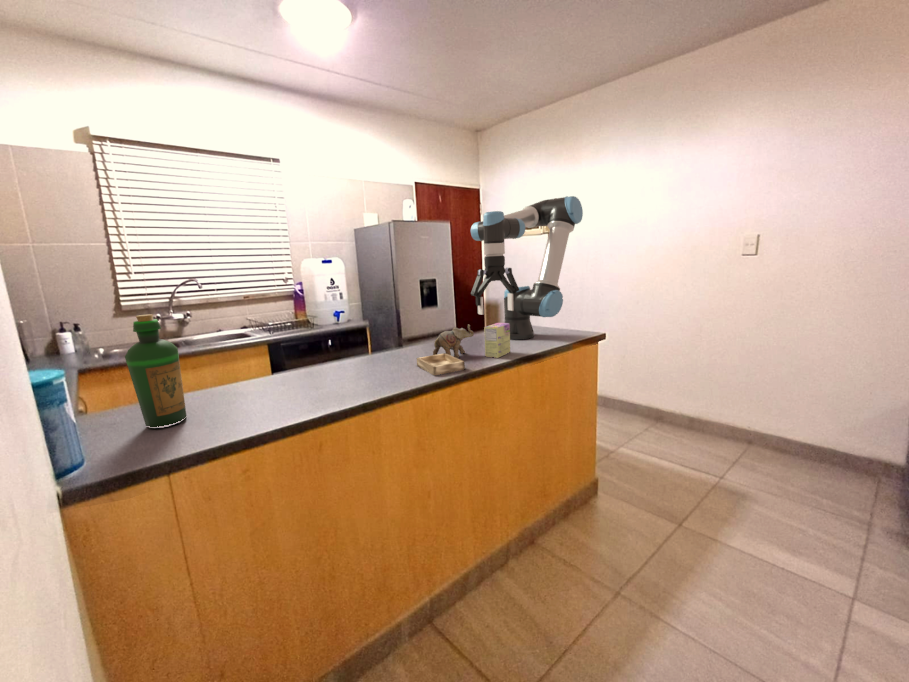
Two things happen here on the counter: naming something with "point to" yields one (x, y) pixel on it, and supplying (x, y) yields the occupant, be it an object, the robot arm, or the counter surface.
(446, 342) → the figurine
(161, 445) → the counter surface
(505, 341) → the box
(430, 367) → the tray
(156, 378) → the bottle
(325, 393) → the counter surface
